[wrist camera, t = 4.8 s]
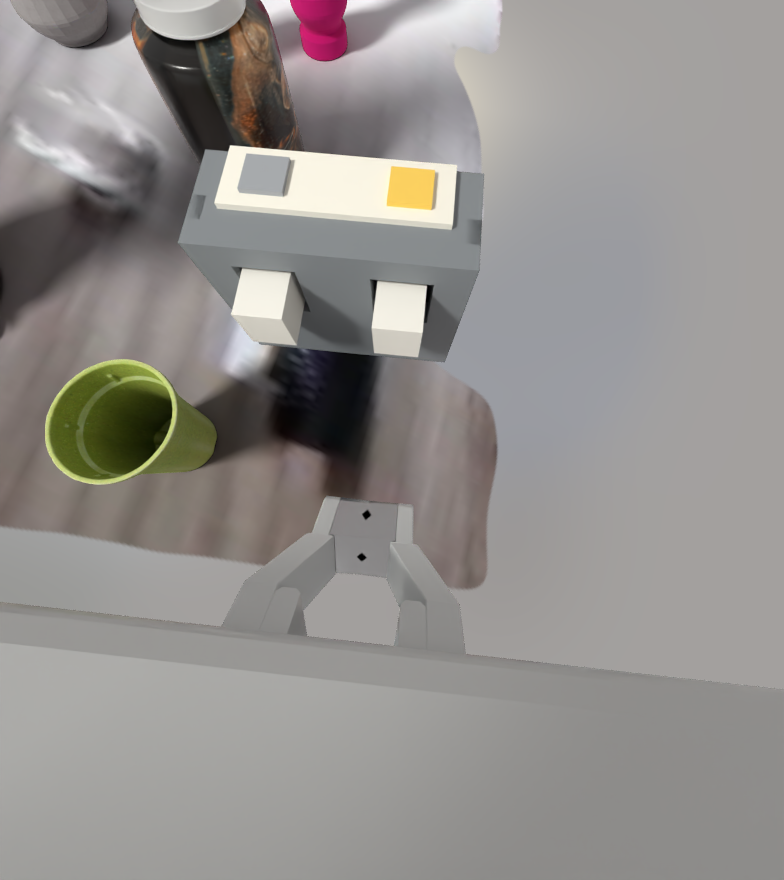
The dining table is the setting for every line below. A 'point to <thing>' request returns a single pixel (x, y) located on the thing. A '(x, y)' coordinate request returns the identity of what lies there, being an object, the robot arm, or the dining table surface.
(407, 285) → the button
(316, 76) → the dining table surface
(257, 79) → the jar
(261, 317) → the button
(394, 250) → the console
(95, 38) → the coffee pot
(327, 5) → the pepper mill
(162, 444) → the plant pot
